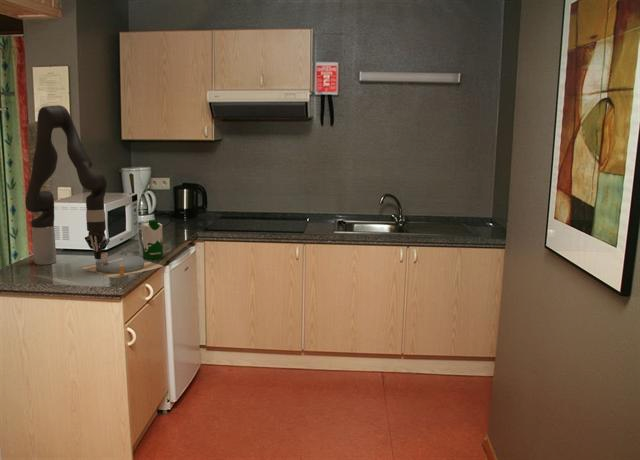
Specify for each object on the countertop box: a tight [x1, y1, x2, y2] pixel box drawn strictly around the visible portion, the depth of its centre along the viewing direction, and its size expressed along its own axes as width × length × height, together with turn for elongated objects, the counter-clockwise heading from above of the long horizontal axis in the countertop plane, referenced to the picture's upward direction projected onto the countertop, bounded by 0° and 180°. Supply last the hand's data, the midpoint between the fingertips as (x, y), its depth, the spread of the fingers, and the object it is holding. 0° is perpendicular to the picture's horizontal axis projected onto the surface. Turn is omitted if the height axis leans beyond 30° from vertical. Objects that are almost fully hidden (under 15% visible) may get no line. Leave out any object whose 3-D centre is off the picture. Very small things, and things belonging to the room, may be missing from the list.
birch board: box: [79, 260, 166, 279], centre depth 243 cm, size 26×26×6 cm
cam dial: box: [95, 252, 145, 273], centre depth 241 cm, size 20×20×8 cm
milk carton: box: [140, 219, 164, 261], centre depth 259 cm, size 9×9×20 cm
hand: (98, 259), depth 235 cm, fingers closed
